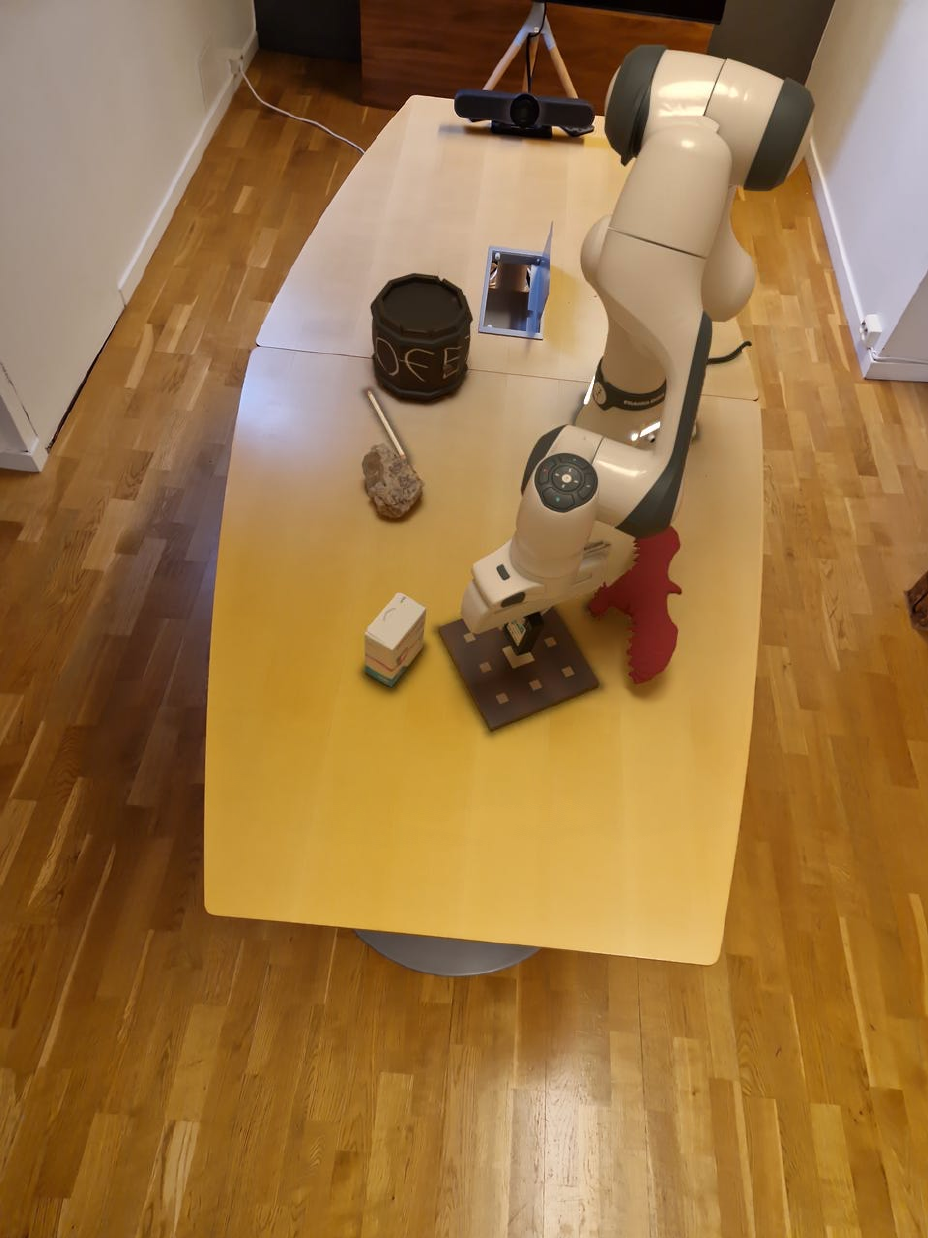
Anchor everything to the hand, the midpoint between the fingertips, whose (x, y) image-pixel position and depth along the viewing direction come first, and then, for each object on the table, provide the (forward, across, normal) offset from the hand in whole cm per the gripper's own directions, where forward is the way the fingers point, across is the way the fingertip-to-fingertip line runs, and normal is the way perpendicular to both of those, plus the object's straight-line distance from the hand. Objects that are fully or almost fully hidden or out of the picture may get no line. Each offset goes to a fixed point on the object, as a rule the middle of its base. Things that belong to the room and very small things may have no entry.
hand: (527, 619), depth 113 cm
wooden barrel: (+12, -11, -61) cm, 63 cm away
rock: (+12, +6, -35) cm, 37 cm away
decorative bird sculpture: (+12, -20, 0) cm, 23 cm away
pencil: (+12, 0, -51) cm, 52 cm away
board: (+11, 0, 0) cm, 11 cm away
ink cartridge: (+6, +1, 0) cm, 6 cm away
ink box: (+12, +17, -7) cm, 22 cm away
